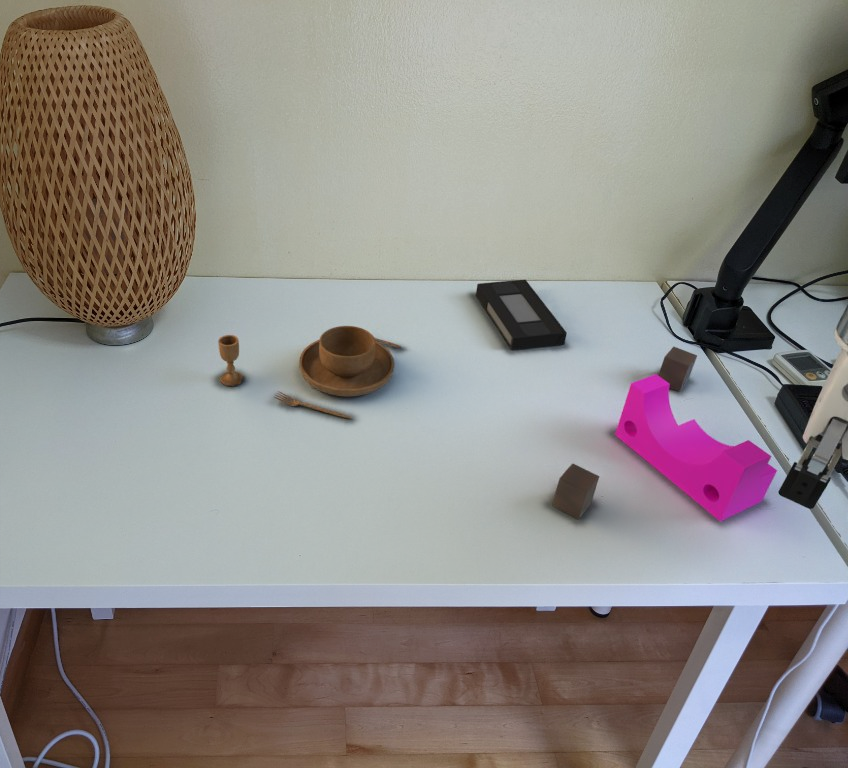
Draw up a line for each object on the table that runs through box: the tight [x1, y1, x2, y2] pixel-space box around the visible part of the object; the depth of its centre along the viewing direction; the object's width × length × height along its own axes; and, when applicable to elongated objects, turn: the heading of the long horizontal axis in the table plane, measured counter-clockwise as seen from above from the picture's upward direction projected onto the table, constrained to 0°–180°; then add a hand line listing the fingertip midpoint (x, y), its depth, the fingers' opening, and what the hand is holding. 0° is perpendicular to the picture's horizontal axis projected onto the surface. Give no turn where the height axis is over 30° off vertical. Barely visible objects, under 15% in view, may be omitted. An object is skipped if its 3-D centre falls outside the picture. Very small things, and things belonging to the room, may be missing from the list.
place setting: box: [217, 325, 402, 420], centre depth 97 cm, size 18×20×6 cm
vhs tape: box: [475, 279, 568, 351], centre depth 108 cm, size 8×14×2 cm, turn 11°
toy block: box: [614, 373, 778, 522], centre depth 83 cm, size 15×6×8 cm, turn 28°
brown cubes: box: [551, 346, 698, 520], centre depth 88 cm, size 3×31×4 cm, turn 140°
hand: (808, 473), depth 77 cm, fingers open, 9 cm apart
